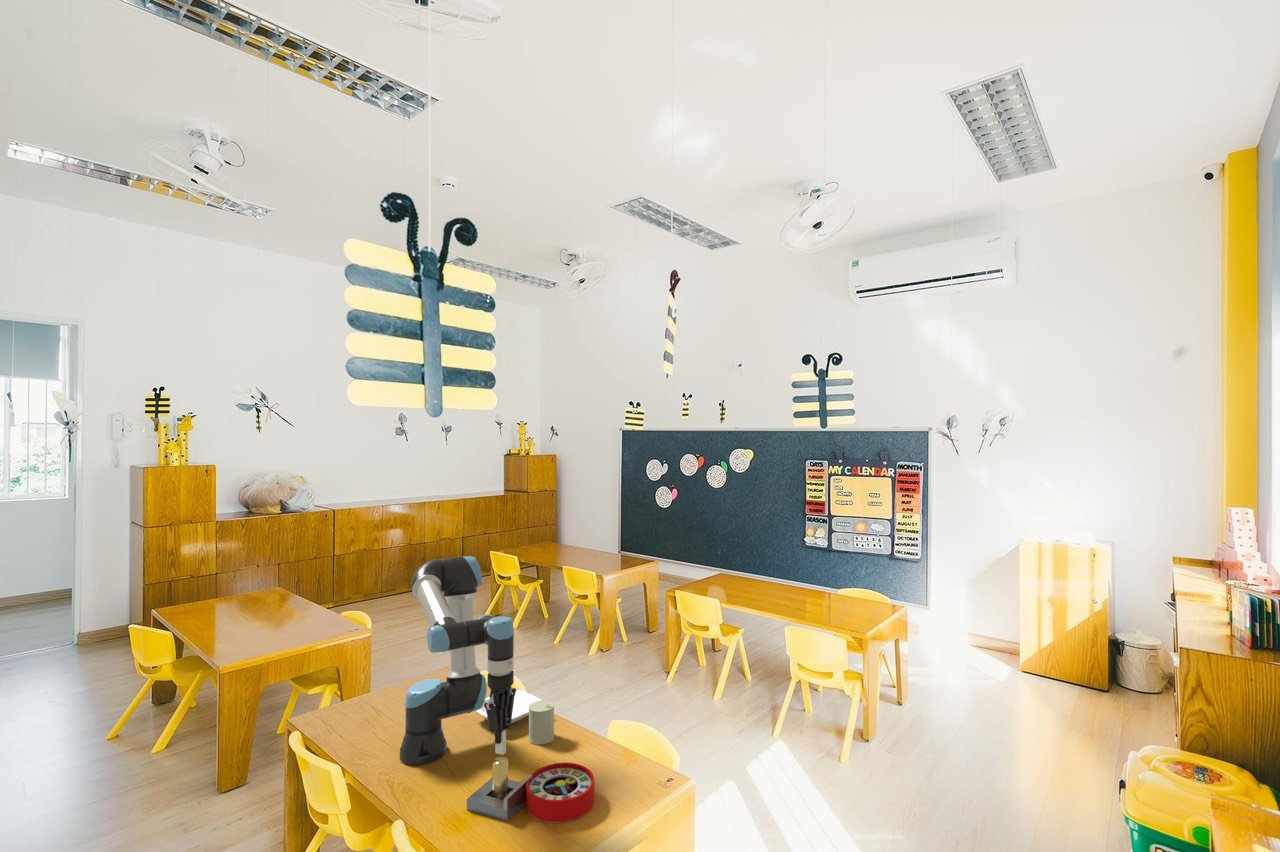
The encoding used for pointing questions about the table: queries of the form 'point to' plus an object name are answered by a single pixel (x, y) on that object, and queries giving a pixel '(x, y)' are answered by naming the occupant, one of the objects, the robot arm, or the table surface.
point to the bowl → (516, 705)
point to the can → (541, 722)
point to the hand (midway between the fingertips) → (500, 752)
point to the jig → (498, 800)
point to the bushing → (500, 778)
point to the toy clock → (560, 792)
